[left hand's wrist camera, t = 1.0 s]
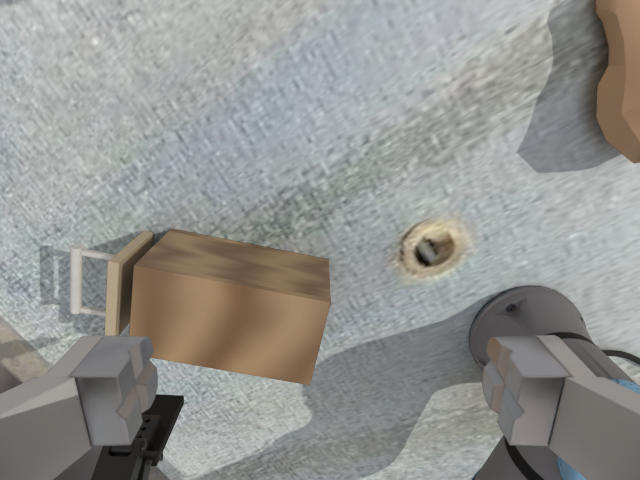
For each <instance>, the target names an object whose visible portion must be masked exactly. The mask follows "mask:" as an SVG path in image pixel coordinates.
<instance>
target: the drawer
mask: <svg viewBox="0 0 640 480" xmlns="http://www.w3.org/2000/svg"><path fill="white" fill-rule="evenodd" d="M152 237H153V232H149V231H143V232H142V233H140V234H139V235H138V236H137V237H136V238H135V239H133V240H132V241H131V242H130V243H129V244H127V245H126V246H125V247H124V248H123V249H122V250H120V251H119V252H118V253H117V254H116V255H114V254H109V253H103V252H98V251H93V250H88V249H83V246H81V245H72V246H71V247H70V313H71V314H79V313H81V312H82V313H87V314H93V315H98V316H104V317H105V336H119V335H120V334H121V332H122V331H123V330H124V329H125V327H126V326H127V325H128V324H129V322H130V318H131V302H132V287H133V271H134V265H135V264H136V263H137V262H138V261H139V260H140V259H141V258H142V257H143V256H144V255H145V254H146V253H147V252H148V251H149V250H150V249H151V248H152ZM83 256H88V257H93V258H98V259H104V260H109V261H108V267H107V291H106V310H103V309H98V308H92V307H87V306H82V271H83ZM129 333H130V330H129Z"/></svg>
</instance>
